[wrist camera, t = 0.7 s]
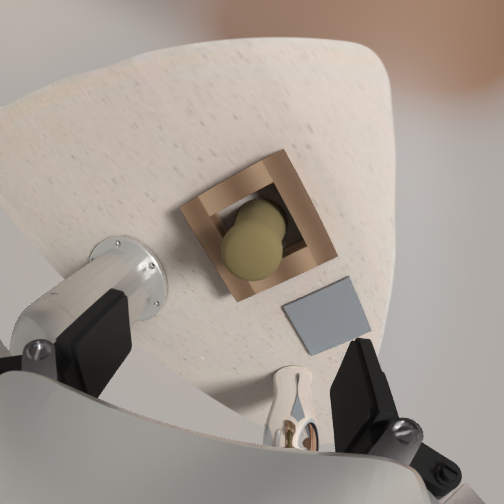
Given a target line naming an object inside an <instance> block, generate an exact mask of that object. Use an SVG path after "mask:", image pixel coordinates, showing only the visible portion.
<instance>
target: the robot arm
mask: <svg viewBox="0 0 504 504" xmlns="http://www.w3.org/2000/svg"><path fill="white" fill-rule="evenodd" d="M166 297H167V280H166V275H165V272H164V270H163V267H162V265H161V264H160V262H159V260H158V258H157V257H156V256H155V255H154V254H153V252H152V251H151V250H150V249H149V248H147V247H146V246H145V245H144V244H142V243H141V242H139V241H138V240H135V239H133V238H130V237H126V236H113V237H110V238H107V239H105V240H103V241H102V242H101V243H99V244H98V245H97V246H96V247H95V248H94V250H93V251H92V254H91V256H90V259H89V264H87V265H86V266H84V267H83V268H81V269H80V270H78V271H77V272H75V273H74V274H73V275H71V276H70V277H68V278H67V279H65V280H64V281H62V282H61V283H60V284H58V285H57V286H55V287H54V288H53V289H51V290H50V291H48V292H47V293H46V294H44V295H43V296H42V297H40V298H39V299H37V300H36V301H35V302H34V303H32V304H31V305H30V306H28V307H27V308H26V309H25V310H24V311H23V312H22V313H21V315H20V316H19V318H18V320H17V322H16V324H15V327H14V330H13V333H12V338H11V343H10V349H9V351H8V350H7V348H6V347H5V346H4V345H3V343H2V342H1V340H0V504H485V503H484V502H483V500H482V499H481V498H480V497H479V496H478V495H477V494H476V493H475V492H474V491H473V490H472V489H471V487H470V486H469V485H468V484H467V483H464V484H462V483H461V479H462V474H461V470H460V468H459V467H458V466H457V465H456V464H455V463H454V462H452V461H451V460H449V459H447V458H446V457H444V456H443V455H441V454H439V453H438V452H436V451H435V450H433V449H432V448H430V447H429V446H427V445H425V444H424V443H422V440H423V437H424V436H423V431H422V428H421V427H420V426H419V424H418V423H416V422H415V421H414V420H411V419H409V418H399V416H398V413H397V410H396V406H395V403H394V400H393V397H392V394H391V391H390V388H389V385H388V382H387V379H386V376H385V374H384V372H382V370H381V368H380V365H379V362H378V359H377V356H376V353H375V350H374V347H373V345H372V342H371V340H370V339H363V338H356V339H355V341H351V342H350V344H349V347H348V349H347V352H346V354H345V356H344V359H343V361H342V363H341V366H340V368H339V370H338V372H337V375H336V377H335V379H334V381H333V383H332V386H331V389H330V399H331V409H332V419H333V429H334V440H335V452H321V451H309V450H299V449H289V448H280V447H272V446H265V445H259V444H252V443H247V442H241V441H236V440H231V439H226V438H221V437H216V436H212V435H207V434H203V433H199V432H195V431H191V430H187V429H184V428H180V427H177V426H173V425H170V424H167V423H163V422H160V421H157V420H154V419H151V418H148V417H144V416H142V415H139V414H136V413H133V412H130V411H128V410H125V409H123V408H120V407H117V406H115V405H112V404H110V403H107V402H105V401H103V400H100V399H98V397H99V395H100V394H101V392H102V391H103V389H104V388H105V387H106V385H107V384H108V382H109V381H110V379H111V378H112V377H113V375H114V374H115V372H116V371H117V369H118V368H119V367H120V365H121V364H122V362H123V361H124V360H125V358H126V357H127V355H128V354H129V353H130V351H131V347H132V342H131V332H130V328H131V327H132V326H133V324H134V323H135V322H136V321H144V320H147V319H150V318H152V317H153V316H155V315H156V314H157V313H158V312H159V311H160V309H161V308H162V307H163V305H164V303H165V300H166Z"/></svg>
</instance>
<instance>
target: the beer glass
mask: <svg viewBox="0 0 504 504" xmlns="http://www.w3.org/2000/svg"><path fill="white" fill-rule="evenodd" d="M272 383H273V389H274V398H273V402H272V405H271V408H270V411H269V414H268V417H267V420H266V424H265V428H264V435H263V445H265V446H272V447H280V448H289V449H299V450H309V451H319V443H320V435H319V425H318V420H317V416H316V412H315V409H314V406H313V402H312V399H311V388H312V383H313V377H312V374H311V373H310V372H309V371H308V370H307V369H305V368H303V367H300V366H287V367H283V368H281V369H279V370H278V371H277V372H276V373H275V374H274V376H273V379H272Z"/></svg>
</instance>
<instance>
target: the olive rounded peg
mask: <svg viewBox="0 0 504 504" xmlns="http://www.w3.org/2000/svg"><path fill="white" fill-rule="evenodd" d="M286 231H287V218H286V215H285V213H284V211H283V210H282V208H281V207H280V206H279V205H278V204H276V203H275V202H274V201H271V200H268V199H263V198H257V199H253V200H250V201H248V202H247V203H245V204H244V205H242V207H241V208H240V209H239V210H238V212H237V215H236V218H235V223H234V226H233V227H231V228H230V230H229V231H228V232H227V233H226V235H225V236H224V238H223V241H222V244H221V257H222V260H223V263H224V265H225V267H226V268H227V269H228V271H229V272H230V273H231V274H233V275H234V276H235V277H237V278H239V279H242V280H245V281H259V280H263V279H265V278H267V277H269V276H270V275H272V273H273V272H274V271H275V270H276V269H277V268H278V267H279V264H280V262H281V260H282V251H283V246H282V243H281V242H282V240H283V238H284V236H285V233H286Z"/></svg>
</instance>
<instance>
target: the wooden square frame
mask: <svg viewBox="0 0 504 504" xmlns="http://www.w3.org/2000/svg"><path fill="white" fill-rule="evenodd" d="M273 182H274V184H275V186H276V188H277V189H278V191H279V193H280V195H281V197H282V199H283V201H284V202H285V204H286V206H287V208H288V210H289V212H290V214H291V216H292V217H293V219H294V221H295V223H296V225H297V227H298V229H299V231H300V233H301V235H302V237H303V240H301V241H299V242H297V243H295V244H293V245H291V246H289V247H287V248H285V249H283V251H282V260H281V262H280V264H279V267H278V268H277V269H276V270H275V271H274V272H273V273H272V275H270V276H269V277H267V278H265V279H263V280H259V281H245V280H242V279H239V278H237V277H235V276H234V275H233V274H231V273H230V272H229V271H228V269H227V268H226V267H225V265H224V263H223V260H222V257H221V244H222V241H223V238H224V236H225V235H226V233H227V232H228V230H227V228H226V227H225V225H224V223H223V222H222V220H221V218H220V216H219V215H218V213H217V212H219V211H221V210H222V209H224V208H226V207H228V206H230V205H232V204H233V203H235V202H237V201H239V200H241V199H243V198H244V197H246V196H248V195H250V194H252V193H254V192H256V191H257V190H259V189H261V188H263V187H265V186H267V185H269V184H271V183H273ZM179 208H180V210H181V212H182V213H183V215H184V217H185V218H186V220H187V222H188V223H189V225H190V227H191V228H192V230H193V232H194V233H195V235H196V237H197V238H198V240H199V242H200V243H201V245H202V247H203V248H204V250H205V252H206V253H207V255H208V257H209V258H210V260H211V261H212V263H213V265H214V266H215V268H216V270H217V271H218V273H219V274H220V276H221V278H222V279H223V281H224V282H225V284H226V286H227V287H228V289H229V290H230V292H231V293H232V295H233V297H234V298H235V300H236V301H237V302H239V301H241V300H244V299H246V298H248V297H250V296H253V295H255V294H257V293H259V292H262V291H264V290H266V289H268V288H271V287H273V286H275V285H277V284H280V283H282V282H284V281H286V280H288V279H291V278H293V277H295V276H297V275H299V274H301V273H304V272H306V271H308V270H310V269H312V268H314V267H316V266H319V265H321V264H323V263H325V262H327V261H329V260H331V259H333V258H335V257H337V256H338V255H337V253H336V251H335V249H334V246H333V244H332V242H331V240H330V238H329V236H328V234H327V232H326V230H325V227H324V225H323V223H322V221H321V219H320V217H319V215H318V213H317V211H316V209H315V207H314V205H313V203H312V201H311V199H310V197H309V195H308V193H307V191H306V190H305V188H304V186H303V184H302V182H301V180H300V178H299V176H298V174H297V172H296V171H295V169H294V167H293V165H292V163H291V161H290V160H289V158H288V156H287V154H286V152H285V150H284V149H282V150H280V151H278V152H276V153H274V154H272V155H271V156H269V157H267V158H265V159H263V160H261V161H259V162H257V163H256V164H254V165H252V166H250V167H248V168H246V169H245V170H243V171H241V172H239V173H237V174H236V175H234V176H232V177H230V178H228V179H227V180H225V181H223V182H221V183H220V184H218V185H216V186H215V187H213V188H211V189H209V190H208V191H206V192H204V193H203V194H201V195H199V196H198V197H196V198H194V199H193V200H191V201H189V202H188V203H186V204H184V205H183V206H181V207H179Z"/></svg>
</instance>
